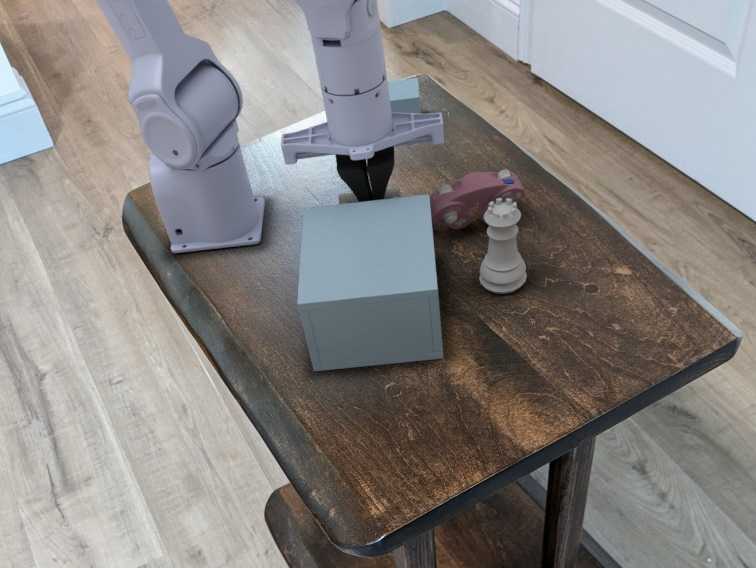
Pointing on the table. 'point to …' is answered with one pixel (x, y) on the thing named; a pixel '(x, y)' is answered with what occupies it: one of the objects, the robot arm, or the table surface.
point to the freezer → (369, 284)
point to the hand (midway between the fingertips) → (375, 219)
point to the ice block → (404, 96)
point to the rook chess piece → (502, 249)
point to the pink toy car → (472, 196)
